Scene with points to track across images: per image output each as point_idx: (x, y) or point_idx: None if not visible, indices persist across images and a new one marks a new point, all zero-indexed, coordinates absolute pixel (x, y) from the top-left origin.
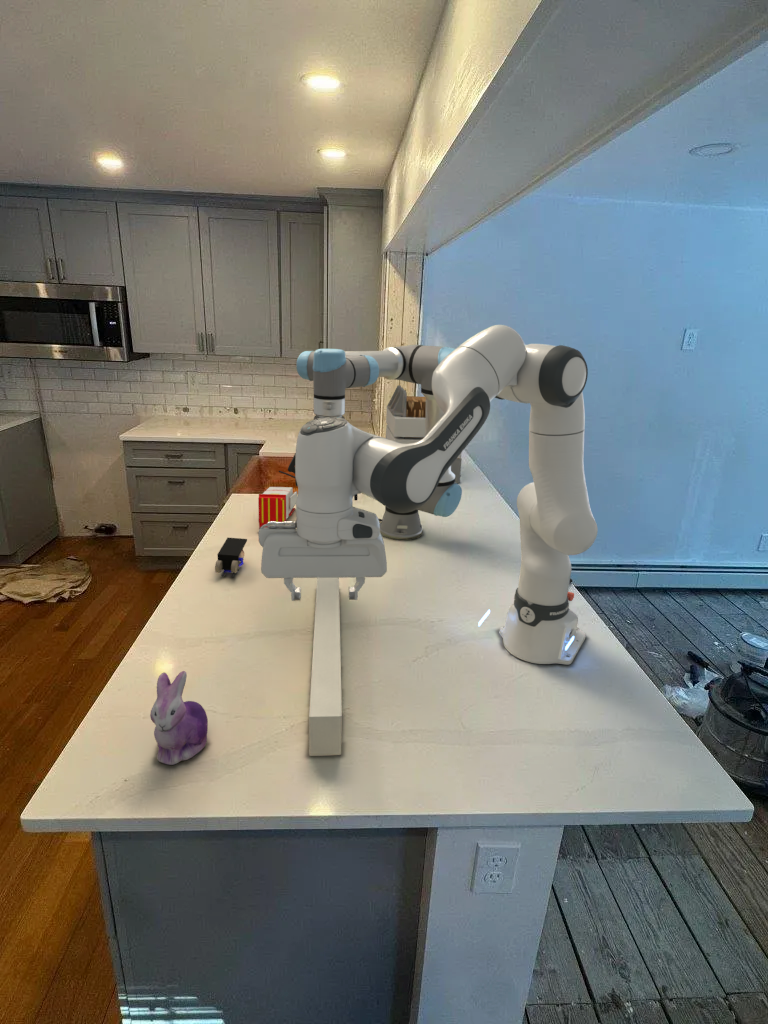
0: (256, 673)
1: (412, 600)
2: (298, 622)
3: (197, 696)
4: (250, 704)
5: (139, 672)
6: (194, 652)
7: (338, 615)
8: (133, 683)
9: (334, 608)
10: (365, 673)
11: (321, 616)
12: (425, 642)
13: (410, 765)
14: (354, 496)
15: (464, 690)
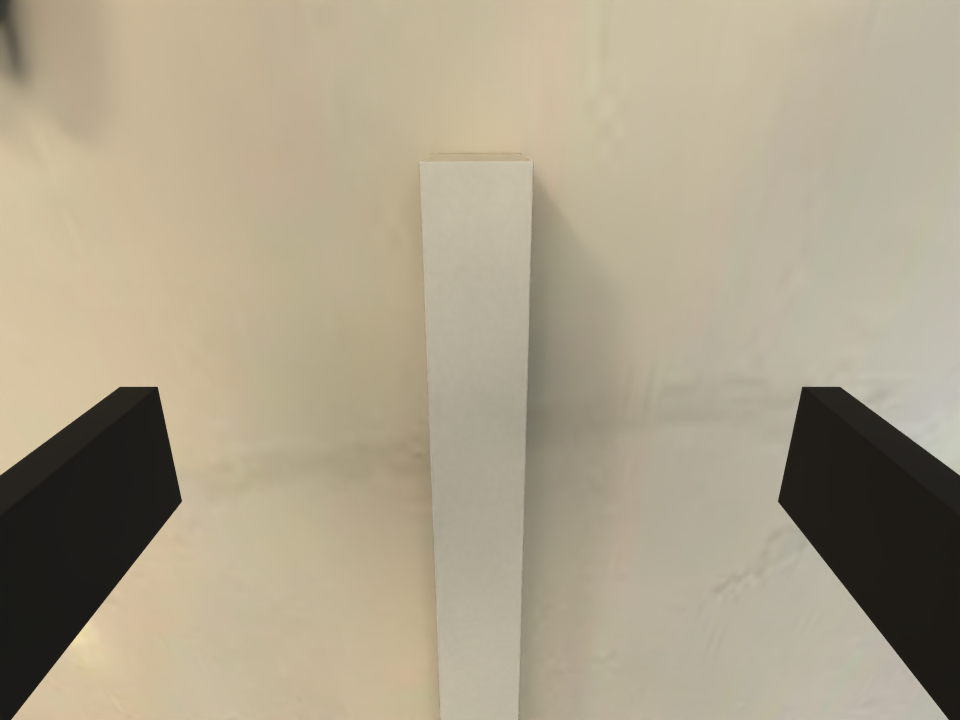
0: (301, 629)
1: (826, 249)
2: (377, 405)
3: (188, 694)
4: (314, 715)
5: None
6: None
7: (517, 616)
8: None
9: (504, 577)
10: (578, 632)
11: (458, 623)
12: (779, 513)
13: None
14: (802, 529)
15: (805, 686)
